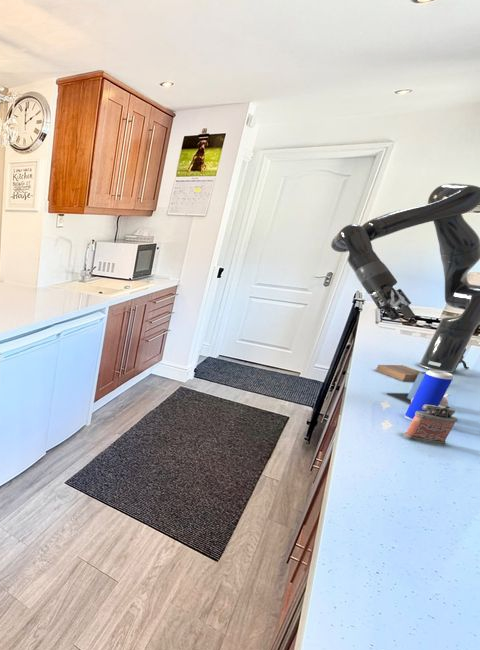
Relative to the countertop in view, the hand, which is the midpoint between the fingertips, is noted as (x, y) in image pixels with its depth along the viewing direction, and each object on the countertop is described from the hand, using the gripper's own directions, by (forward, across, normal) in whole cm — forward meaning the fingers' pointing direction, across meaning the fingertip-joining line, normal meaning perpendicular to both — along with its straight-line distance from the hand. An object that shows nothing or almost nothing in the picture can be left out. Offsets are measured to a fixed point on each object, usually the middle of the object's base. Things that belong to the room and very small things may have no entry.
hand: (403, 318), depth 131 cm
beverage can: (+31, -18, +4) cm, 36 cm away
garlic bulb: (+30, -10, +5) cm, 32 cm away
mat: (+26, 0, +9) cm, 27 cm away
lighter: (+36, -32, -1) cm, 48 cm away
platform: (+15, +25, +19) cm, 35 cm away
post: (+25, 0, +9) cm, 27 cm away
